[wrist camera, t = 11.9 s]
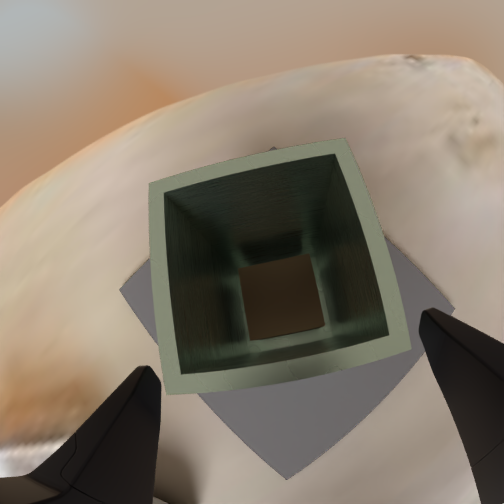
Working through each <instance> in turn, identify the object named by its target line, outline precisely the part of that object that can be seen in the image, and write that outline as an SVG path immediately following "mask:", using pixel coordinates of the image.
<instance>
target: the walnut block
mask: <svg viewBox="0 0 504 504" xmlns="http://www.w3.org/2000/svg"><path fill="white" fill-rule="evenodd" d="M238 273H239V279H240V285H241V291H242V297H243V303H244V309H245V315H246V320H247V326H248V332H249V338H250V341H253V340H262V339H268V338H273V337H278V336H284V335H289V334H294V333H298V332H303V331H308V330H312V329H317V328H320V327H323V326H325V321H324V316H323V311H322V307H321V302H320V297H319V293H318V288H317V284H316V279H315V275H314V271H313V266H312V262H311V258H310V254H304V255H299V256H295V257H290V258H285V259H280V260H276V261H271V262H266V263H262V264H257V265H252V266H247V267H242V268H238Z"/></svg>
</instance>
